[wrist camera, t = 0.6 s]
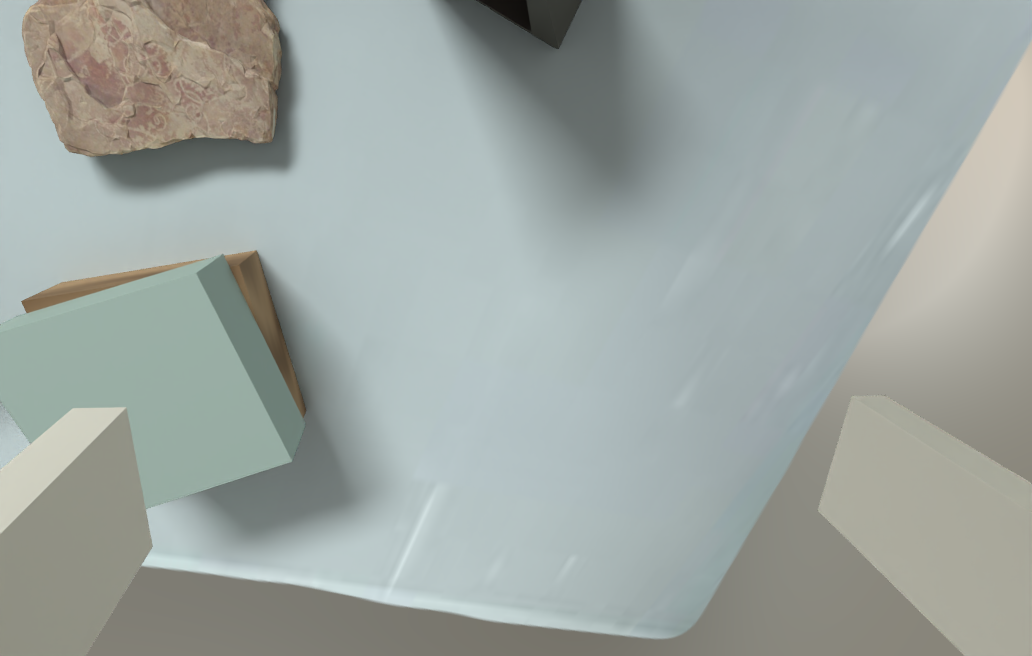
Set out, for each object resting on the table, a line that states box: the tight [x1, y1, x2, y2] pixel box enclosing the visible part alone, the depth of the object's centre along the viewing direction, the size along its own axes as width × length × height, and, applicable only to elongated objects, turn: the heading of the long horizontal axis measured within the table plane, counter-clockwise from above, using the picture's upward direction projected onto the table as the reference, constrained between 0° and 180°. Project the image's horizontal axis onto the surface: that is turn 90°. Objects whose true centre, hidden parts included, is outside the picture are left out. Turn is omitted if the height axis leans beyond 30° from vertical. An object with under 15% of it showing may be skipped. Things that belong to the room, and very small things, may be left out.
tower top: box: [0, 254, 306, 509], centre depth 30 cm, size 11×11×4 cm
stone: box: [22, 0, 282, 157], centre depth 28 cm, size 12×12×3 cm
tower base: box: [21, 250, 306, 418], centre depth 34 cm, size 11×11×4 cm
